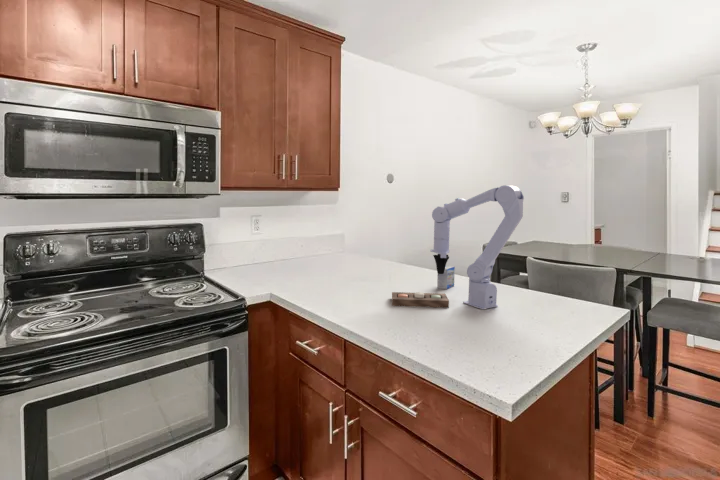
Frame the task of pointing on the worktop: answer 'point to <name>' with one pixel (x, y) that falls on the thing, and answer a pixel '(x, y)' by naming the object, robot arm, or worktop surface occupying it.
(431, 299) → the button panel
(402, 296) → the terracotta button
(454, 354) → the worktop surface
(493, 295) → the robot arm
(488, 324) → the worktop surface
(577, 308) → the worktop surface
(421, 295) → the cream button
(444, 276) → the medicine box
